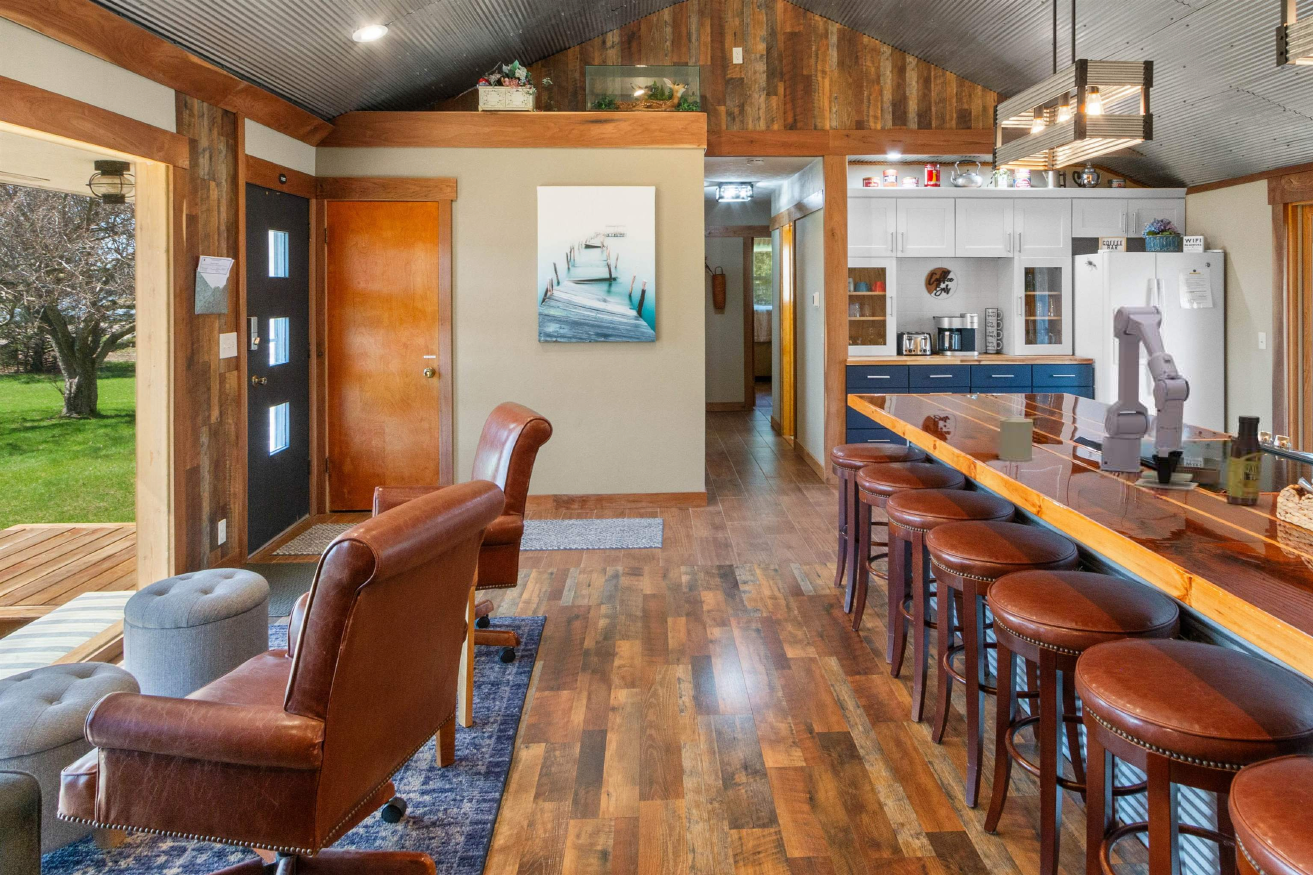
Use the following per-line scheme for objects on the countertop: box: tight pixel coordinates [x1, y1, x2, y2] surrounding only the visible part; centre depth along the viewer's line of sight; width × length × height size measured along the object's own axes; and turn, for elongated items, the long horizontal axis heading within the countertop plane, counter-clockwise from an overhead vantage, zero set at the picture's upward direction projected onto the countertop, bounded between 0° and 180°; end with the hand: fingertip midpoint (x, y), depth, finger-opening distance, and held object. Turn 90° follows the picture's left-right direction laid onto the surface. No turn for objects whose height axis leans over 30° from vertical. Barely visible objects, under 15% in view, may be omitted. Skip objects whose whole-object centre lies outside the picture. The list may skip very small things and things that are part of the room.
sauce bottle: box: [1226, 415, 1263, 506], centre depth 214 cm, size 6×6×20 cm
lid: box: [1140, 470, 1193, 482], centre depth 237 cm, size 11×6×1 cm, turn 54°
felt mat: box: [1133, 477, 1199, 492], centre depth 237 cm, size 13×8×1 cm, turn 54°
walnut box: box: [1175, 465, 1221, 486], centre depth 240 cm, size 10×5×4 cm, turn 54°
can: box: [998, 417, 1034, 462], centre depth 279 cm, size 9×9×12 cm
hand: (1166, 481), depth 237 cm, fingers closed on lid, 6 cm apart
